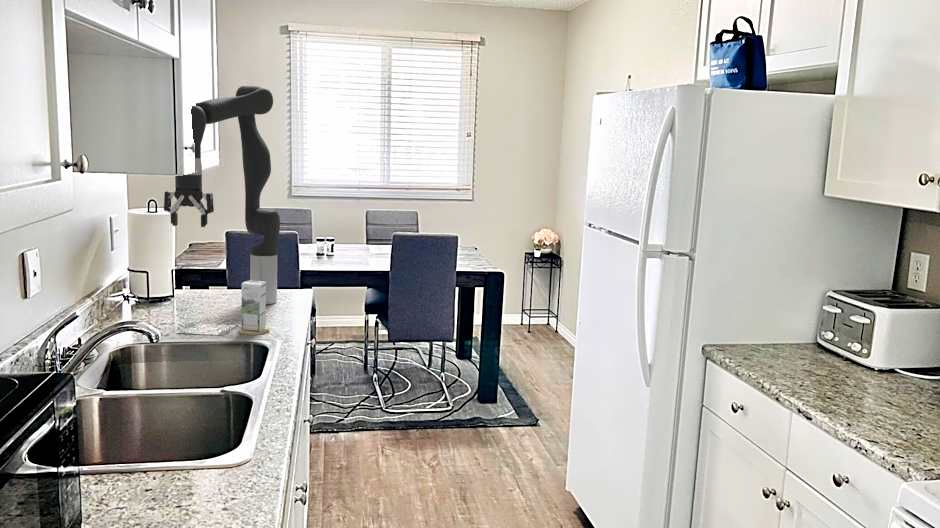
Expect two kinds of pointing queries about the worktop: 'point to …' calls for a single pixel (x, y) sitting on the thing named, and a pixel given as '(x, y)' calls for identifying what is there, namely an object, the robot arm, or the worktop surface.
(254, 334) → the cork coaster
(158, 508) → the worktop surface
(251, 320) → the syrup box
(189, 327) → the plaque
